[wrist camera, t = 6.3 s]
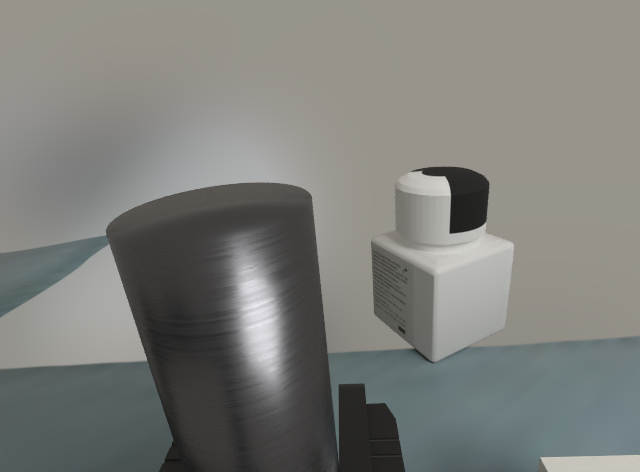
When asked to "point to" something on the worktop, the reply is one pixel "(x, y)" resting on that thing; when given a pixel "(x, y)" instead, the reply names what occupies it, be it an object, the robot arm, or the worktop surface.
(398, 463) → the robot arm
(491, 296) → the container
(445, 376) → the worktop surface
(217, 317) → the tube
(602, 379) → the worktop surface
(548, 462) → the socket block
